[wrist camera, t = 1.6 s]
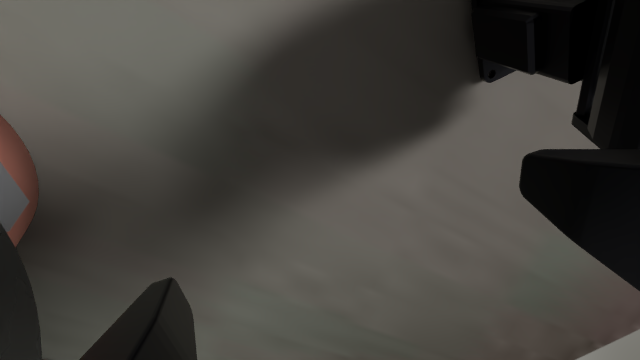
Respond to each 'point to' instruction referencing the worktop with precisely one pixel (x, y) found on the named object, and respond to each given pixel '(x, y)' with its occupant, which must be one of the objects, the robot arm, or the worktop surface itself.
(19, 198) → the cooker pot
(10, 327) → the cooker lid
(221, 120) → the worktop surface
